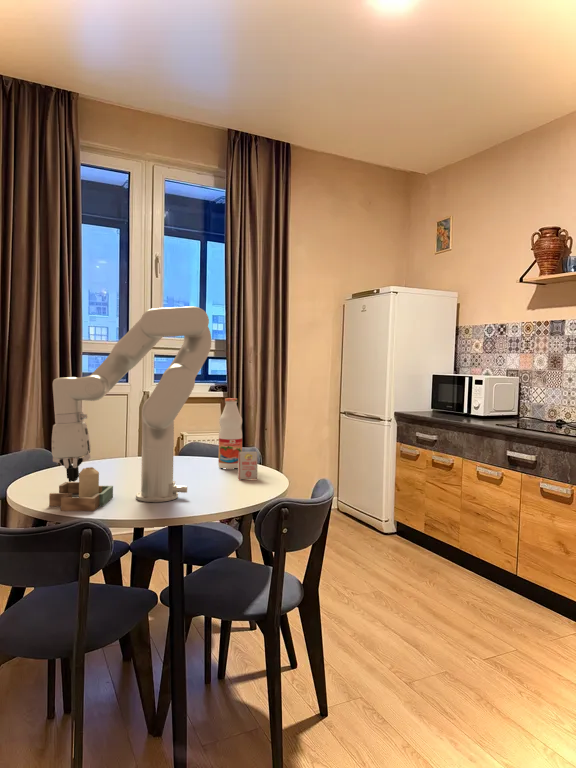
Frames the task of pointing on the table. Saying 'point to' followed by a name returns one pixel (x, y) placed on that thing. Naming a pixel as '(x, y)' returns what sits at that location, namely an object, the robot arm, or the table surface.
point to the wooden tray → (79, 498)
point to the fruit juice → (230, 435)
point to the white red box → (247, 465)
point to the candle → (88, 482)
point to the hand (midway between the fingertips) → (73, 480)
